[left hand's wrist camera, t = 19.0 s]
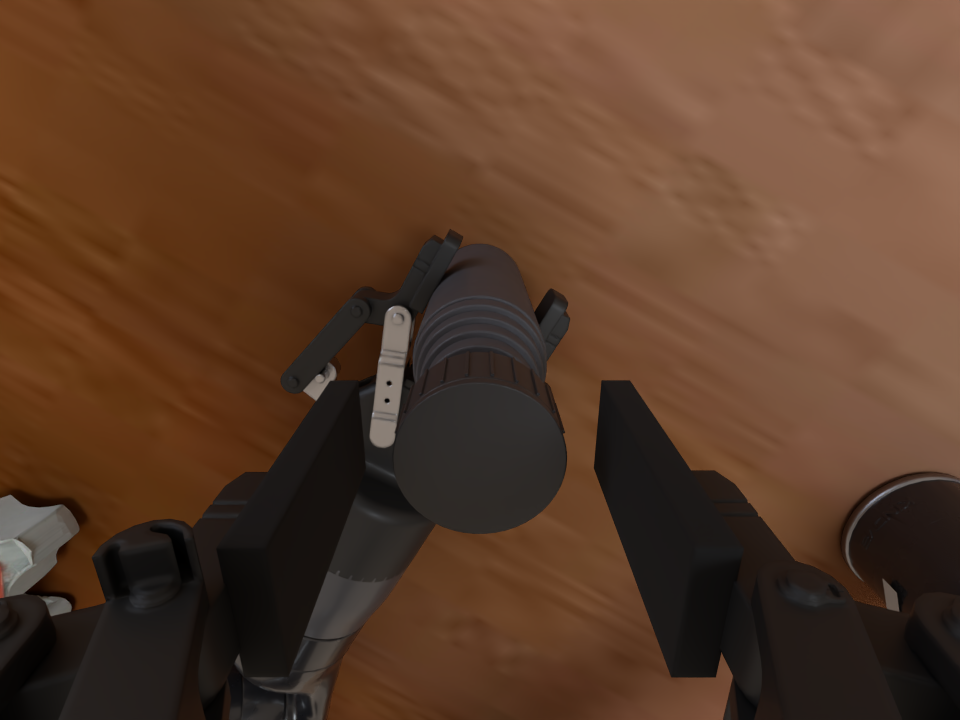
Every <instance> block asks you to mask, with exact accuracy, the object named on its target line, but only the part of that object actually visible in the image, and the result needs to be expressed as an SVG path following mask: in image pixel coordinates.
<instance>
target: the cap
mask: <svg viewBox="0 0 960 720" xmlns="http://www.w3.org/2000/svg"><path fill="white" fill-rule="evenodd" d="M394 433H395V434H396V438H395V442H394V446H393V455H392V459H393V469H394V474H395V478H396V480H397V483H398V486H399V488H400V489H401V491H402V493H403V495H404V496H405V498H406V499H407V500H408V502H409V503H410V504H411V505H412V506H413V507H414V508H415V509H416V510H417V511H418V512H419V513H420V514H422V515H423V516H424V517H426V518H427V519H429V520H431V521H432V522H434V523H436V524H438V525H440V526H442V527H445V528H448V529H451V530H454V531H459V532H463V533H472V534H487V533H496V532H501V531H505V530H508V529H511V528H514V527H517V526H519V525H521V524H523V523H526V522H527V521H529V520H530V519H532V518H534V517H535V516H536V515H538V514H539V513H540V512H541V511H543V510H544V509H545V508H546V506H547V505H548V504H549V503H550V502H551V501H552V499H553V498H554V497H555V495H556V494H557V492H558V490H559V488H560V486H561V484H562V481H563V479H564V475H565V471H566V465H567V451H566V444H565V440H564V436H563V433H565V431H564V428H563V425H562V421H561V418H560V415H559V412H558V409H557V405H556V403H553V400H552V397H551V394H550V391H549V387H548V385H547V384H546V385H545V384H544V383H543V382H542V381H541V379H540V378H539V377H538V376H537V375H536V374H535V372H534V370H533V369H529V368H528V367H526V366H525V365H524V364H522V363H520V362H518V361H516V360H515V358H514V357H512V358H509V357H507V356H504V355H500V354H496V353H493V352H492V351H490V353H488V352H471V353H470V352H469V351H467V352H466V353H464V354H460V355H456V356H453V357H450V358H447V357H446V358H444V360H443V361H441V362H439V363H437V364H436V365H434V366H433V367H432V368H430V369H429V370H428V369H426V370H425V373H424V374H423V375H422V376H421V377H420V378H419V380H418V381H417V382H416V384H415V385H412V386H411V388H410V392H409V395H408V398H407V401H406V404H403V407H402V410H401V413H400V416H399V419H398V423H397V426H396V429H395V432H394Z"/></svg>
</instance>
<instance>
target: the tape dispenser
mask: <svg viewBox="0 0 960 720" xmlns="http://www.w3.org/2000/svg"><path fill="white" fill-rule="evenodd" d="M78 532H79V525H78V523H77V521H76V519H75V518H74V516H73V515H72V513H71V512H70V511H69V510H68V509H67V508H66V507H65V506H64V505H55V506H50V507H41V508H37V507H28V506H26V505H23V504H21V503H20V502H19V501H17V500H16V499H15V498H14V497H13V496H12V495H8V496H6V497H3V498H0V598H3V597H9V596H14V595H20V594H23V593H25V592H26V591H27V590H28V589H29V588H31V587H32V586H33V585H34V584H35V583H37V582H38V581H39V580H40V579H41V578H42V577H44V576H45V575H46V574H47V573H48V572H49V571H50V570H51V569H52V568H53V567H54V565H55V564H56V563H57V560H56V553H57V551H58V549H59V547H61V546H62V545H63V544H65V543H66V542H67V541H68V540H70V539H71V538H72V537H73V536H74V535H75V534H77V533H78ZM25 595H28V594H25ZM37 596H38V597H39V598H41V599H42V600H44V601H45V602H46V605H47V607H48V610H49V613H50V615H51V616H54V615H58V614H63V613H67V612H71V609H72V607H71V604H70V603H69V602H68V601H67V600H66V599H64V598H61V597H52V596H50V597H47V596H43V597H41V596H39V595H37Z"/></svg>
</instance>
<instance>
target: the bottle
mask: <svg viewBox="0 0 960 720" xmlns="http://www.w3.org/2000/svg"><path fill="white" fill-rule="evenodd" d="M467 351H469V352H470V353H471V352H488V353H490V351H492V352H493V353H496V354H500V355H504V356H507V357H509V358H512V357H514V358H515V360H516V361H518V362H520V363H522V364H524V365H525V366H526V367H528V368H529V369H533V370H534V372H535V374H536V375H537V376H538V377H539V378H540V379H541V381H542V382H543V383H544V381H545V377H546V368H547V362H546V361H547V354H546V346H545V342H544V338H543V336H542V333H541V330H540V327H539V324H538V322H537V319H536V316H535V313H534V310H533V308H532V305H531V302H530V299H529V296H528V294H527V291H526V288H525V285H524V282H523V280H522V277H521V274H520V271H519V269H518V267H517V265H516V263H515V262H514V261H513V259H512V258H511V257H510V256H509V255H508V254H507V253H505V252H504V251H503V250H501V249H499V248H497V247H494V246H491V245H487V244H473V245H468V246H465V247H463V248H460V249H459V250H457V252H456V254H455V255H454V257H453V259H452V261H451V263H450V264H449V266H448V268H447V270H446V272H445V273H444V275H443V277H442V279H441V281H440V282H439V284H438V286H437V288H436V290H435V291H434V293H433V295H432V297H431V298H430V301H429V304H428V306H427V309H426V312H425V315H424V318H423V320H422V323H421V326H420V329H419V332H418V334H417V337H416V340H415V344H414V348H413V375H414V380H415V383H416V382H417V381H418V380H419V378H420V377H421V376H422V375H423V374H424V373H425V370H426V369H428V370H429V369H430V368H432V367H433V366H434V365H436V364H437V363H439V362H441V361H443V360H444V358H446V357H447V358H450V357H453V356H456V355H460V354H464V353H466V352H467Z"/></svg>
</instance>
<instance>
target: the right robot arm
mask: <svg viewBox="0 0 960 720" xmlns="http://www.w3.org/2000/svg"><path fill="white" fill-rule="evenodd" d="M462 239H463V236H461V235H460V234H458V233H456V232H454V231H453V230H451V229H450V230H449V232H448V234H447V236H446V237H445V239H444V240H443V239H441V238H439V237H437V236H436V235H434V236H433V237H431V238H430V239H429V240H428V241H427V242H425V244H424V246H423V247H422V249H421V251H420V253H419V255H418V257H417V258H416V260H415V262H414V264H413V266H412V268H411V270H410V272H409V274H408V275H407V277H406V279H405V281H404V283H403V285H402V287H401V288H400V289H399V290H398V291H396V292H393V293H384V292H378V291H376V290H375V289H373V288H371V287H368V286H365V287H361V288H360V289H358V290H357V291H356V293H355V294H354V295H353V296H352V297H351V298H350V299H349V300H348V301H347V302H346V303H345V304H344V305H343V307H342V308H341V309H340V310H339V311H338V312H337V313H336V315H335V316H334V317H333V318H332V319H331V320H330V321H329V322H328V324H327V325H326V326H325V327H324V328H323V329H322V330H321V332H320V333H319V334H318V335H317V336H316V337H315V338H314V339H313V341H312V342H311V343H310V344H309V345H308V346H307V347H306V349H305V350H304V351H303V352H302V353H301V354H300V355H299V356H298V358H297V359H296V360H295V361H294V362H293V363H292V364H291V366H290V367H289V368H288V369H287V370H286V371H285V372H284V373H283V375H282V377H281V385H282V387H283V388H284V389H285V390H286V391H288V392H290V393H294V394H296V393H300V392H302V391H304V392H305V393H307V394H308V395H309V396H310V397H312V398H313V399H314V400H316V401H317V399H318V398H319V396H320V395H321V393H322V392H323V390H324V389H325V387H326V386H327V384H328V383H329V381H337V376H338V374H339V372H340V370H341V365H340V362H339V361H338V359H337V358H335V357H334V356H335V355H336V354H337V353H338V352H339V351H340V349H341V348H342V347H343V346H344V345H345V344H346V343H347V342H348V341H349V340H350V338H351V337H352V336H353V335H354V334H355V333H356V332H357V331H358V330H359V329H360V327H361V326H362V325H363V324H364V323H370V324H376V325H382V326H384V330H383V339H382V347H381V353H380V357H379V362H378V370H377V374H375V375H373V376H371V377H368V378H366V379H364V380H361V381H359V382H358V383H359V394H360V405H361V416H362V428H363V439H364V450H365V462H366V469H365V472H364V475H363V478H362V480H361V483H360V486H359V488H358V491H357V494H356V497H355V499H354V502H353V505H352V507H351V510H350V513H349V515H348V518H347V521H346V524H345V526H344V529H343V532H342V534H341V537H340V540H339V542H338V545H337V548H336V551H335V553H334V556H333V559H332V561H331V564H330V567H329V569H328V572H327V575H326V578H325V580H324V583H323V586H322V588H321V591H320V594H319V597H318V599H317V602H316V605H315V607H314V610H313V613H312V615H311V618H310V621H309V624H308V626H307V629H306V632H305V634H304V637H303V640H302V642H301V645H300V648H299V651H298V653H297V656H296V659H295V661H294V664H293V667H292V669H291V672H290V675H289V677H244V674H243V669H242V665H241V660H240V656H239V655H238V657H237V659H236V661H235V663H234V665H233V667H232V669H231V671H230V673H229V675H228V677H227V679H228V683H229V688H230V695H231V703H230V713H229V720H327V717H328V712H329V707H330V702H331V697H332V693H333V690H334V686H335V683H336V680H337V676H338V672H339V668H340V665H341V661H342V658H343V656H344V654H345V653H346V652H347V650H348V649H349V647H350V645H351V644H352V642H353V641H354V639H355V638H356V636H357V634H358V633H359V631H360V630H361V628H362V627H363V625H364V624H365V622H366V621H367V620H368V619H369V617H370V616H371V615H372V614H373V613H374V612H375V611H376V610H377V609H378V608H379V606H380V605H381V604H382V603H383V602H384V601H385V600H386V598H387V597H388V596H389V594H390V593H391V591H392V590H393V588H394V587H395V585H396V584H397V582H398V581H399V579H400V578H401V576H402V575H403V573H404V572H405V570H406V569H407V567H408V566H409V564H410V563H411V561H412V560H413V558H414V557H415V555H416V554H417V552H418V550H419V549H420V547H421V546H422V544H423V543H424V541H425V540H426V538H427V537H428V535H429V534H430V532H431V531H432V529H433V528H434V526H435V525H436V523H434V522H432V521H431V520H429V519H427V518H426V517H424V516H423V515H422V514H420V513H419V512H418V511H417V510H416V509H415V508H414V507H413V506H412V505H411V504H410V503H409V502H408V500H407V499H406V498H405V496H404V495H403V493H402V491H401V489H400V488H399V486H398V483H397V480H396V478H395V474H394V469H393V459H392V455H393V446H394V442H395V438H396V434H395V433H394V432H395V429H396V426H397V423H398V419H399V416H400V413H401V410H402V407H403V404H406V401H407V398H408V395H409V392H410V388H411V386H412V385H415V384H416V383H415V380H414V375H413V364H411V366H410V363H411V356H412V348H413V335H414V328H415V320H416V315H417V313H418V312H420V313H421V314H422V313H423V311H424V310H425V308H426V306H427V304H428V302H429V301H430V298H431V297H432V295H433V293H434V291H435V290H436V288H437V286H438V284H439V282H440V281H441V279H442V277H443V275H444V273H445V272H446V270H447V268H448V266H449V264H450V263H451V261H452V259H453V257H454V255H455V254H456V252H457V250H458V248H459V246H460V244H461V242H462ZM567 306H568V301H567V300H566V298H565V297H564V295H562V294H560V293H559V292H557V291H555V290H553V289H552V288H551V289H550V290H549V291H548V292H547V293H546V295H545V296H544V298H543V299H542V301H541V303H540V304H539V306H538V307H537V309H536V310H535V312H534V313H535V316H536V319H537V322H538V324H539V327H540V330H541V333H542V336H543V338H544V342H545V346H546V354H547V360H548V359H549V357H550V356H551V354H552V353H553V351H554V350H555V348H556V346H557V345H558V344H559V342H560V340H561V339H562V338H563V336H564V335H565V333H566V332H567V330H568V326H569V322H570V318H569V316H568V314H567V312H566V309H567ZM546 362H547V361H546ZM544 384H545V385H546V384H547V383H545V382H544ZM547 385H548V384H547ZM548 387H549V391H550V394H551V397H552V400H553V403H555V401H554V397H553V394H552V391H551V388H550V386H549V385H548ZM841 549H842V554H843V557H844V560H845V562H846V564H847V565H848V566H849V568H850V569H851V570H852V571H853V572H854V573H855V574H856V575H857V576H858V578H860V579H861V580H862V581H863V582H865V583H866V584H867V585H868V587H869V588H870V589H871V590H872V591H873V592H874V593H875V594H876V595H877V596H878V598H879V599H880V600H881V601H882V602H883V603H884V604H885V605H886V606H887V609H890V610H894V611H899V612H903V613H907V614H910V613H911V610H912V607H913V605H914V602H915V599H917V598H918V597H920V596H921V595H922V594H924V593H933V592H942V593H948V594H953V595H959V596H960V479H959V478H957V477H954V476H951V475H947V474H940V473H923V474H916V475H911V476H907V477H904V478H901V479H898V480H895V481H893V482H891V483H888V484H886V485H884V486H883V487H881V488H879V489H878V490H876V491H875V492H873V493H872V494H871V495H869V496H868V497H867V498H866V499H865V500H864V501H862V502H861V503H860V504H859V506H858V507H857V508H856V509H855V510H854V512H853V513H852V514H851V516H850V517H849V519H848V521H847V523H846V525H845V528H844V530H843V534H842V540H841Z"/></svg>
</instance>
